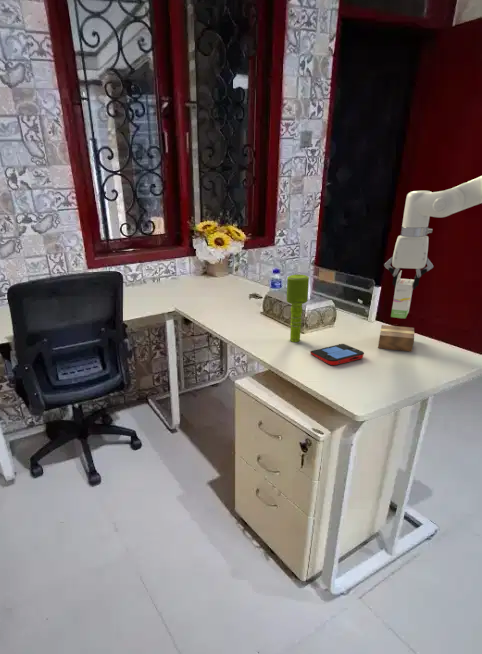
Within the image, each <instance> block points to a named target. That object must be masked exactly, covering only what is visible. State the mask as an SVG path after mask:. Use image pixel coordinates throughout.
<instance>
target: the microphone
mask: <svg viewBox="0 0 482 654" xmlns="http://www.w3.org/2000/svg"><path fill="white" fill-rule="evenodd" d="M286 279H287V280H286V302H287V303H288V304H291V306H290V314H291V315H290V319H289V320H290V323H289V325H290V334H289V335H290V336H289V337H290V339H289V341H290V342H292V343H298V342H300V341H301V331H302V330H301V329H302V328H301V327H302V322H303V321H302V317H303V316H302V314H303V305H304V304H306V303H307V302H308V299H309V284H310V282H309V281H310V276H308V275H306V274H291V275H289V276H287V278H286Z"/></svg>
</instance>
